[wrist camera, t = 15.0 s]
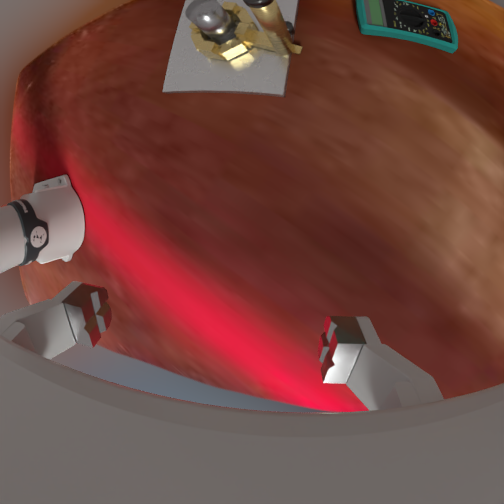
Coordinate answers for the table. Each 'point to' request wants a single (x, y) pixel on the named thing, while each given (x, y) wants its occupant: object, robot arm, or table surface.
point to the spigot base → (229, 71)
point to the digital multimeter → (407, 22)
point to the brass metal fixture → (248, 31)
